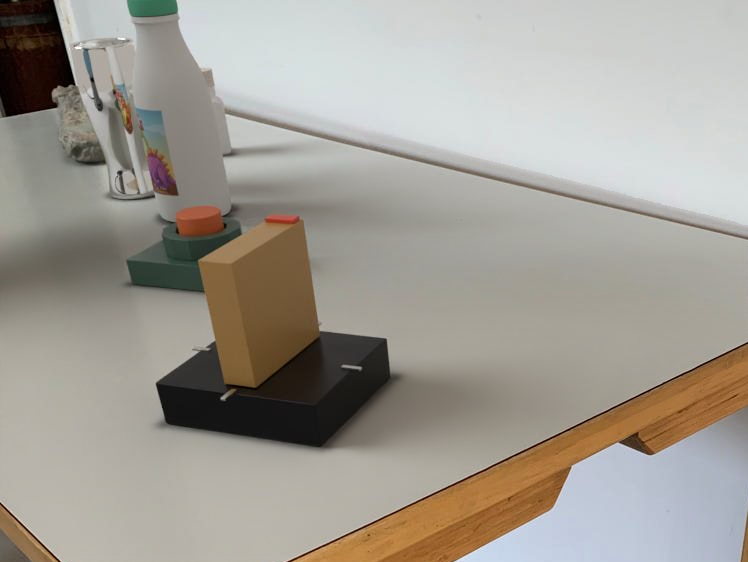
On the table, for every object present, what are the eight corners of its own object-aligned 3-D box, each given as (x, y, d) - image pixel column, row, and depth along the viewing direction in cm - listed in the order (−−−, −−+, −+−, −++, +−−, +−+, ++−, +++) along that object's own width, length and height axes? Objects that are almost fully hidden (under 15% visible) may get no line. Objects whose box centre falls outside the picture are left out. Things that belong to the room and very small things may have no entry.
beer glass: (136, 203, 110) (98, 49, 100) (93, 196, 113) (53, 46, 103) (180, 187, 114) (148, 38, 105) (139, 181, 117) (104, 35, 108)
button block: (132, 284, 89) (120, 238, 87) (187, 252, 96) (178, 209, 93) (236, 294, 86) (226, 248, 83) (286, 261, 92) (279, 217, 90)
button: (170, 237, 88) (166, 217, 87) (195, 224, 90) (191, 204, 89) (208, 240, 86) (204, 220, 85) (232, 227, 89) (228, 207, 88)
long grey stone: (56, 180, 124) (137, 175, 127) (45, 134, 121) (129, 130, 123) (60, 110, 149) (128, 107, 152) (51, 71, 146) (120, 69, 148)
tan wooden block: (256, 388, 64) (230, 259, 58) (224, 384, 64) (196, 256, 59) (320, 335, 70) (302, 215, 65) (291, 332, 71) (271, 212, 66)
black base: (148, 429, 66) (136, 386, 64) (249, 353, 76) (241, 313, 74) (321, 456, 62) (314, 411, 60) (404, 372, 72) (401, 330, 70)
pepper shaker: (196, 152, 128) (179, 69, 122) (226, 148, 129) (210, 65, 123) (202, 158, 125) (185, 74, 119) (233, 154, 126) (218, 70, 120)
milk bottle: (232, 200, 109) (191, -14, 97) (233, 220, 103) (190, -5, 91) (161, 207, 108) (111, -8, 95) (158, 227, 102) (105, 1, 90)
